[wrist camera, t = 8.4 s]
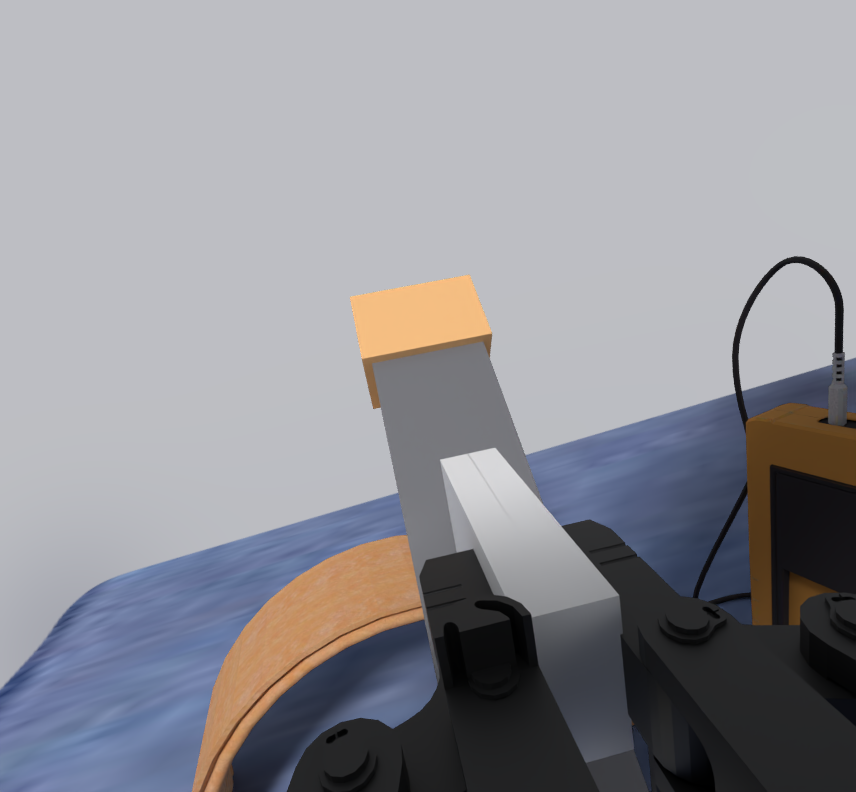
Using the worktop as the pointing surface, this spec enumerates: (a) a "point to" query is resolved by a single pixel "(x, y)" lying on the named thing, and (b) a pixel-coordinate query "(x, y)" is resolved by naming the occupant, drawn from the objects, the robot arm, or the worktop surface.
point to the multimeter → (797, 490)
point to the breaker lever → (445, 423)
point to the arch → (304, 641)
